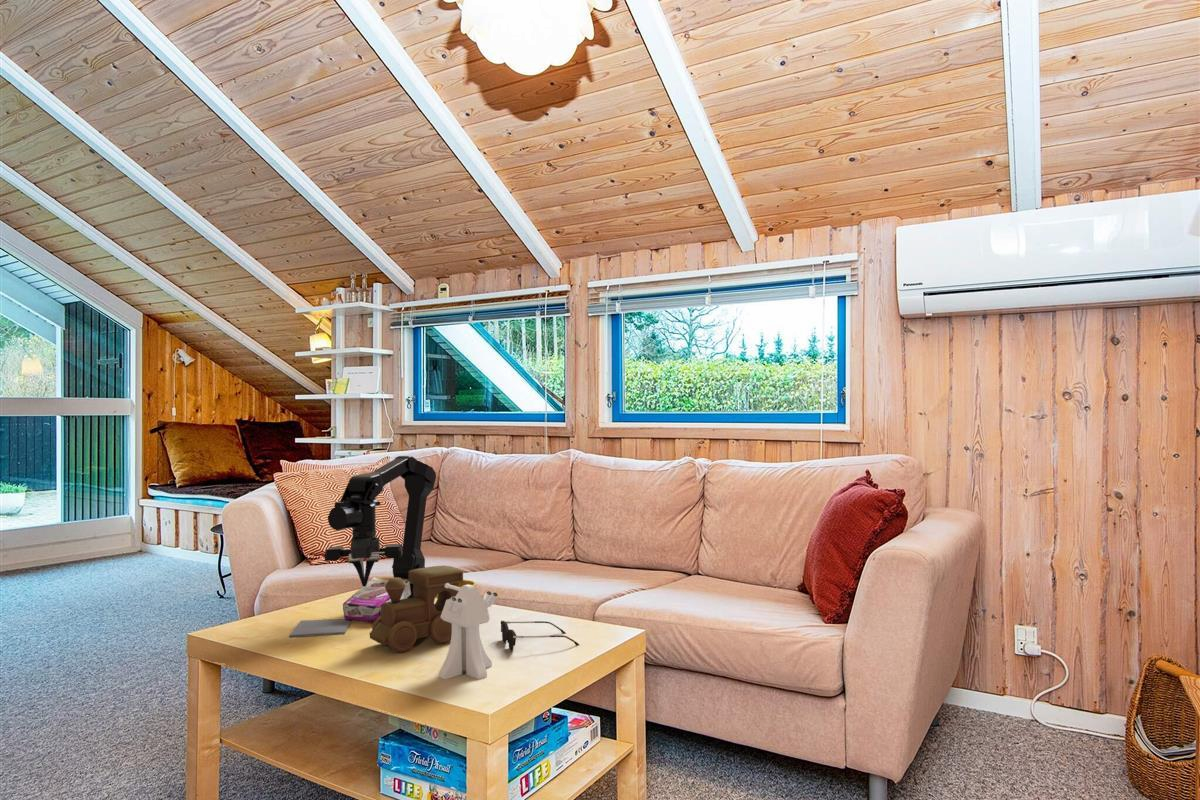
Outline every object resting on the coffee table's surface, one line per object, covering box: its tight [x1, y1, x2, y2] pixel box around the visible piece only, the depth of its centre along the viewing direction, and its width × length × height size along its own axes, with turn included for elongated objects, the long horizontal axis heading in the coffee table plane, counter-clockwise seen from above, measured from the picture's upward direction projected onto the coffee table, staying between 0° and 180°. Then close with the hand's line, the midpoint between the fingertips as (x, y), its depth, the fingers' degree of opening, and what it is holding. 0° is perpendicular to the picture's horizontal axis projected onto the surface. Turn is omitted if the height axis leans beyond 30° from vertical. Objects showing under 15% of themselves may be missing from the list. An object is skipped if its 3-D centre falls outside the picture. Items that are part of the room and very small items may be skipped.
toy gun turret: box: [438, 583, 499, 680], centre depth 167 cm, size 12×13×18 cm
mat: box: [288, 617, 353, 638], centre depth 202 cm, size 13×14×1 cm
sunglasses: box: [500, 620, 580, 653], centre depth 187 cm, size 14×16×5 cm
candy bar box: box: [342, 576, 411, 624], centre depth 213 cm, size 11×5×16 cm
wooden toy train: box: [369, 565, 464, 653], centre depth 188 cm, size 20×11×17 cm, turn 129°
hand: (364, 586), depth 204 cm, fingers closed
